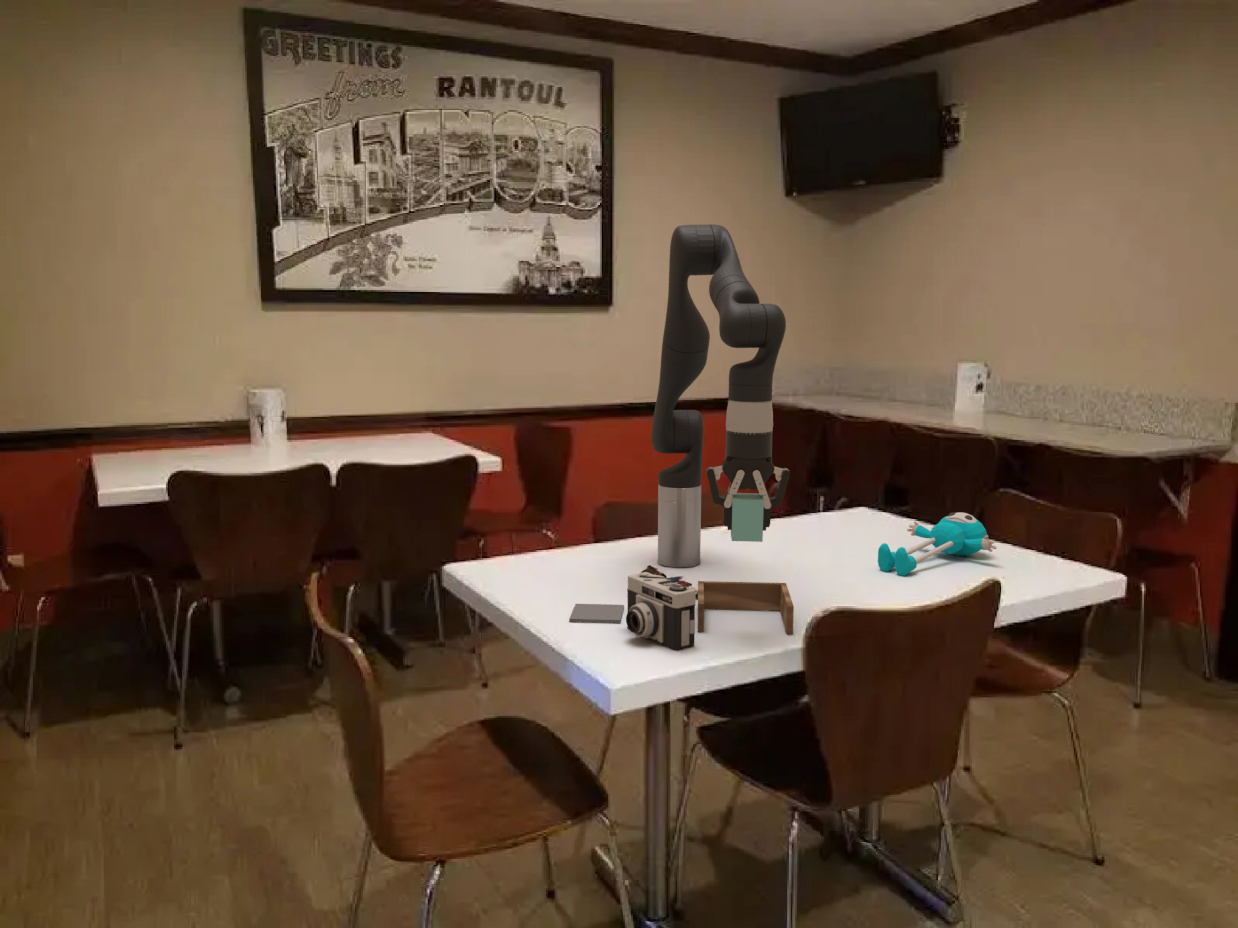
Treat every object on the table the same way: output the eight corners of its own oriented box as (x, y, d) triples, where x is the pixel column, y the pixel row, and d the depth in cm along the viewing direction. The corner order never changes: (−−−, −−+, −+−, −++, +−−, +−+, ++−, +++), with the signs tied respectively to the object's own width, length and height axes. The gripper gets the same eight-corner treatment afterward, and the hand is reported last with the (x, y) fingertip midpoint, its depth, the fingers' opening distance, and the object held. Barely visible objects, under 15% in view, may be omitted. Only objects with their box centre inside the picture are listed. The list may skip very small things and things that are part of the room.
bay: (697, 607, 179) (698, 581, 178) (785, 609, 178) (785, 583, 177) (697, 631, 165) (698, 603, 165) (792, 634, 164) (793, 605, 163)
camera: (607, 632, 165) (607, 575, 164) (646, 624, 170) (647, 568, 168) (656, 656, 154) (656, 595, 152) (696, 646, 158) (697, 587, 157)
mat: (575, 606, 179) (575, 603, 179) (624, 608, 179) (624, 604, 179) (569, 622, 170) (569, 618, 170) (620, 623, 170) (620, 620, 170)
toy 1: (723, 596, 190) (661, 578, 199) (724, 573, 189) (663, 556, 199) (681, 613, 180) (618, 593, 189) (683, 589, 179) (620, 570, 188)
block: (730, 533, 164) (731, 492, 163) (760, 534, 163) (761, 493, 162) (731, 541, 159) (732, 499, 158) (762, 541, 159) (763, 499, 157)
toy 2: (846, 536, 209) (928, 500, 227) (849, 579, 212) (929, 541, 229) (936, 557, 192) (1017, 516, 210) (938, 603, 195) (1018, 559, 212)
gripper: (791, 425, 161) (787, 525, 164) (704, 423, 162) (702, 523, 165) (796, 431, 154) (792, 536, 157) (705, 430, 155) (703, 533, 158)
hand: (746, 528), depth 161 cm, fingers closed on block, 5 cm apart
